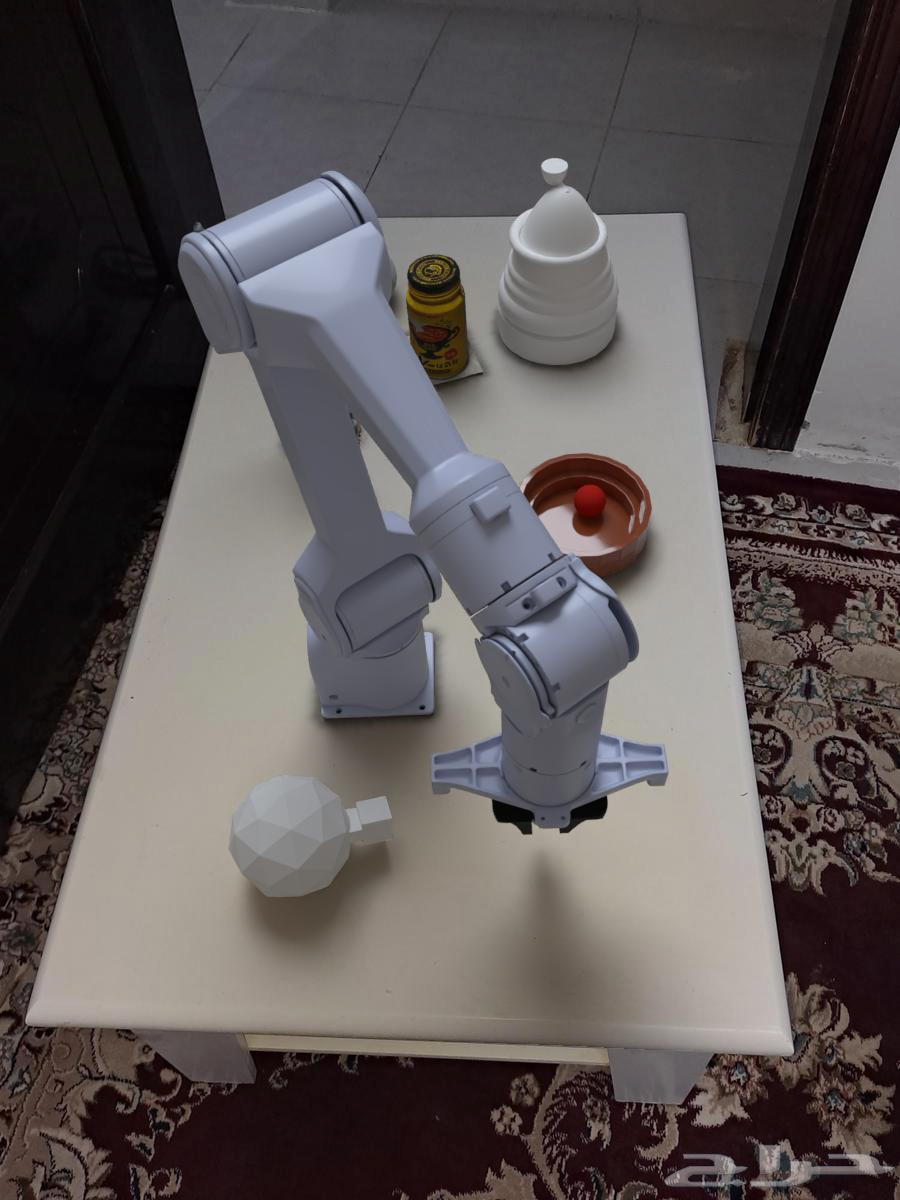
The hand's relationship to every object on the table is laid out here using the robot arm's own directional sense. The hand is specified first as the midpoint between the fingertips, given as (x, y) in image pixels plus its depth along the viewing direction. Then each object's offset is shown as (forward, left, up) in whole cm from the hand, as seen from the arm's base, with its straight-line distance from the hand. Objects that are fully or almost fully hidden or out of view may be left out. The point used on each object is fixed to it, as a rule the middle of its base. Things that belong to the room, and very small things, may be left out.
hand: (544, 820), depth 69 cm
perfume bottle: (-17, +1, -9) cm, 19 cm away
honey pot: (+6, +61, -9) cm, 62 cm away
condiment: (-7, +57, -9) cm, 58 cm away
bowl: (+6, +32, -8) cm, 34 cm away
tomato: (+7, +34, -6) cm, 35 cm away
